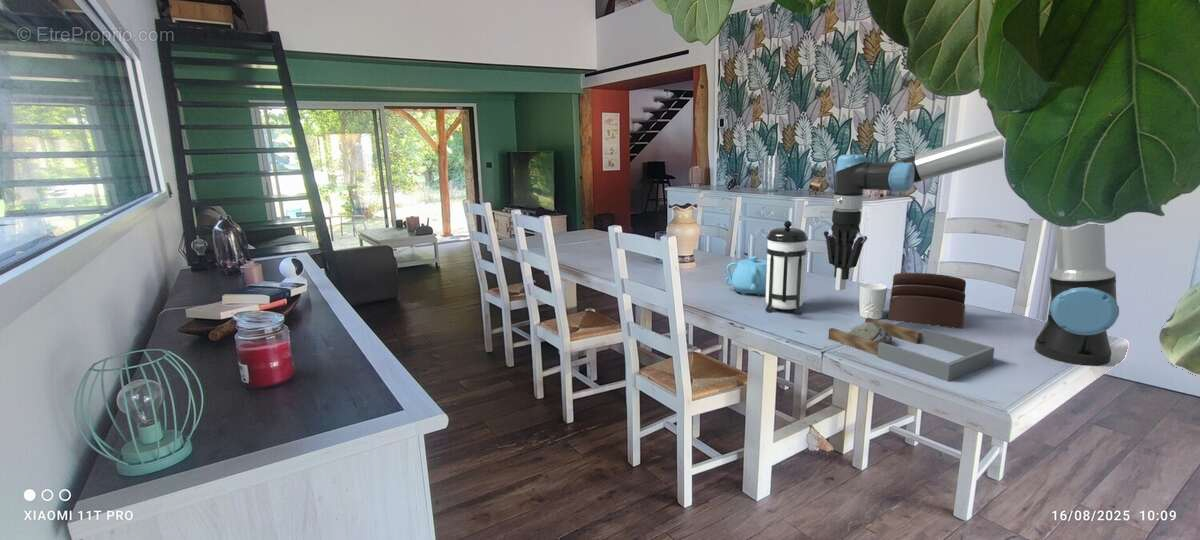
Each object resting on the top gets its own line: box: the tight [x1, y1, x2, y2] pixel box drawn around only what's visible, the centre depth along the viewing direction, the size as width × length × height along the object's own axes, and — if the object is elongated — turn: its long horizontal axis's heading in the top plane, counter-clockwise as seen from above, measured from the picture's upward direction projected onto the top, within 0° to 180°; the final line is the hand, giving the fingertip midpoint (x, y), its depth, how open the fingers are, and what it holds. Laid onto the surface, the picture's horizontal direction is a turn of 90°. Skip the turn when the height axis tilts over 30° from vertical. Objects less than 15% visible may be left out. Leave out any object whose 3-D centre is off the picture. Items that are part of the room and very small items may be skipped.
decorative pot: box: [725, 255, 767, 296], centre depth 210 cm, size 16×16×14 cm
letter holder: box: [887, 272, 967, 329], centre depth 173 cm, size 10×20×14 cm, turn 60°
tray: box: [876, 328, 995, 382], centre depth 144 cm, size 18×20×4 cm
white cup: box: [858, 282, 888, 320], centre depth 179 cm, size 8×8×10 cm
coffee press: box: [765, 220, 809, 316], centre depth 185 cm, size 17×16×30 cm
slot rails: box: [828, 318, 921, 356], centre depth 158 cm, size 16×18×3 cm
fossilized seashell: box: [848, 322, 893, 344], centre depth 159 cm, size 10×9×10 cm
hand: (840, 289), depth 166 cm, fingers closed
